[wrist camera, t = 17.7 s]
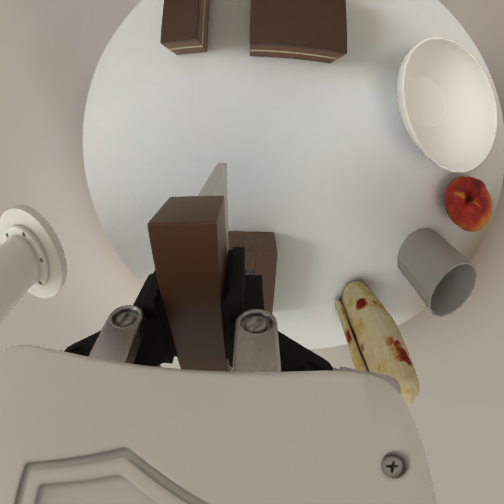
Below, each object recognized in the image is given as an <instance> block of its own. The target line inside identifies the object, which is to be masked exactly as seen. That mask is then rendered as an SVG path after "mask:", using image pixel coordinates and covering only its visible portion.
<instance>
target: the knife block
mask: <svg viewBox="0 0 504 504" xmlns="http://www.w3.org/2000/svg"><path fill="white" fill-rule="evenodd" d="M228 234H229V250H232V249H233V247H245V270H254V275H262V282H263V297H264V310H265V311H268V312H269V313H271V314H272V308H273V297H274V286H275V274H276V262H277V247H276V241H275V236H274V232H232V231H228Z"/></svg>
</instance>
